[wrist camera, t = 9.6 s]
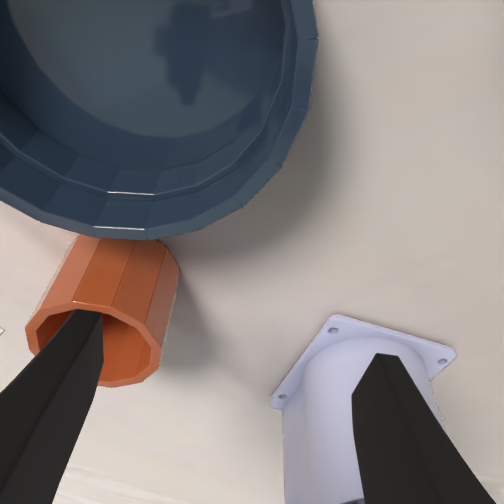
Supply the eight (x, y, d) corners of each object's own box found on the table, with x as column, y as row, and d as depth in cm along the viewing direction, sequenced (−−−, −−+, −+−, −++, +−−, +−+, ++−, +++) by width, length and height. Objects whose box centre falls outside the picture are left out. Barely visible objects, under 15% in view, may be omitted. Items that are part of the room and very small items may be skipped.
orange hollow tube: (174, 314, 25) (157, 394, 21) (72, 299, 24) (34, 378, 21) (183, 236, 21) (164, 315, 18) (63, 216, 21) (16, 293, 17)
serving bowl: (236, 215, 20) (230, 278, 17) (-53, 121, 18) (-123, 174, 15) (376, -108, 13) (411, -103, 10) (-85, -345, 10) (-243, -444, 7)
